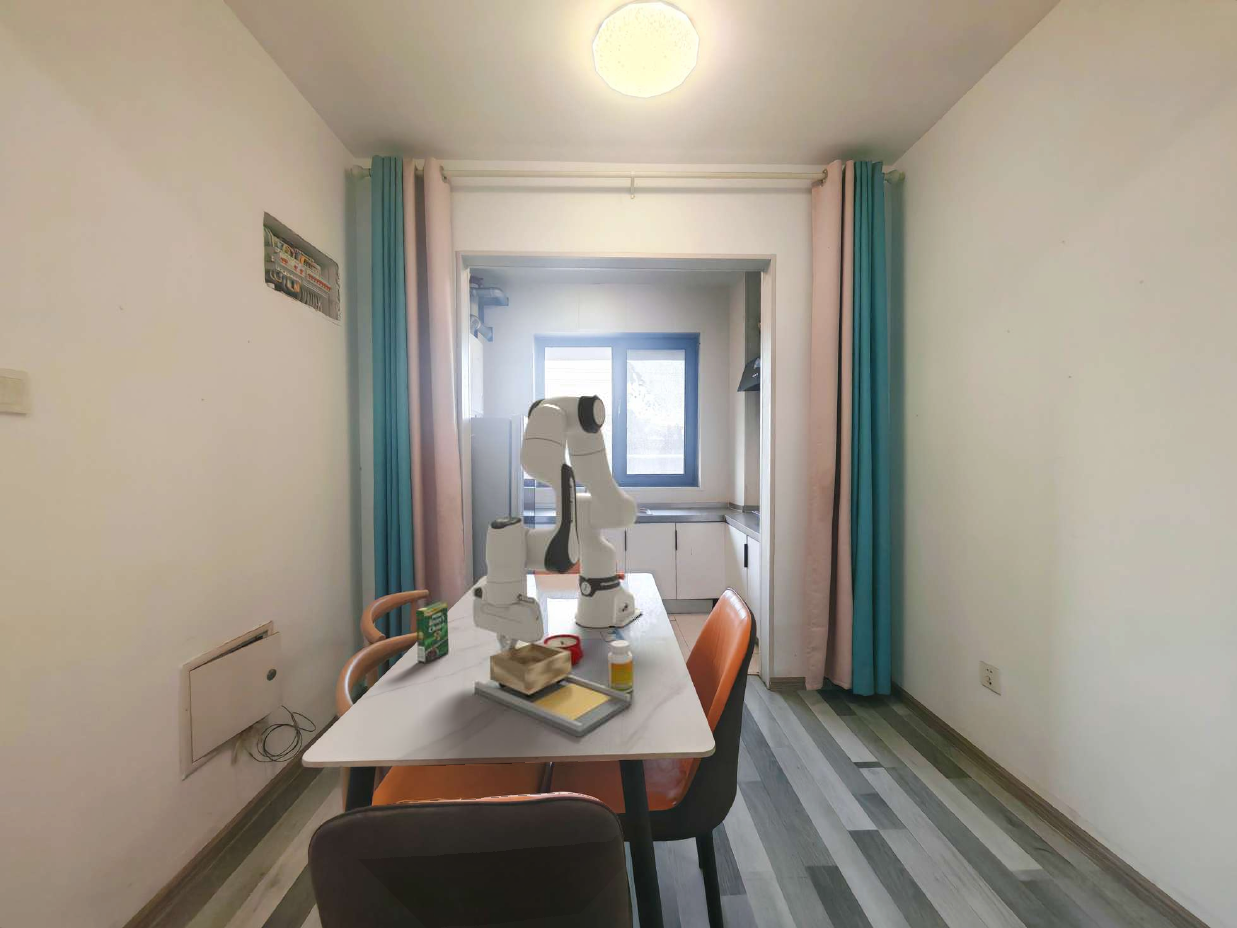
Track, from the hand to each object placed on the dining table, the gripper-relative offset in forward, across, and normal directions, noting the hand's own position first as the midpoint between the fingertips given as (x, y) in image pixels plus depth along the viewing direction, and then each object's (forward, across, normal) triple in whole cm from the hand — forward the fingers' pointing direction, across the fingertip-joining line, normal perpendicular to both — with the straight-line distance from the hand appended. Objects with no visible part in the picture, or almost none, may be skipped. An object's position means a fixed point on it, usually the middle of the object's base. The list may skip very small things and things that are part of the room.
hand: (507, 654), depth 112 cm
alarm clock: (+7, 0, -17) cm, 18 cm away
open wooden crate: (+5, -8, 0) cm, 9 cm away
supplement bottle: (+6, -22, -12) cm, 26 cm away
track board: (+6, -13, 0) cm, 14 cm away
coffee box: (+6, +27, +2) cm, 27 cm away
